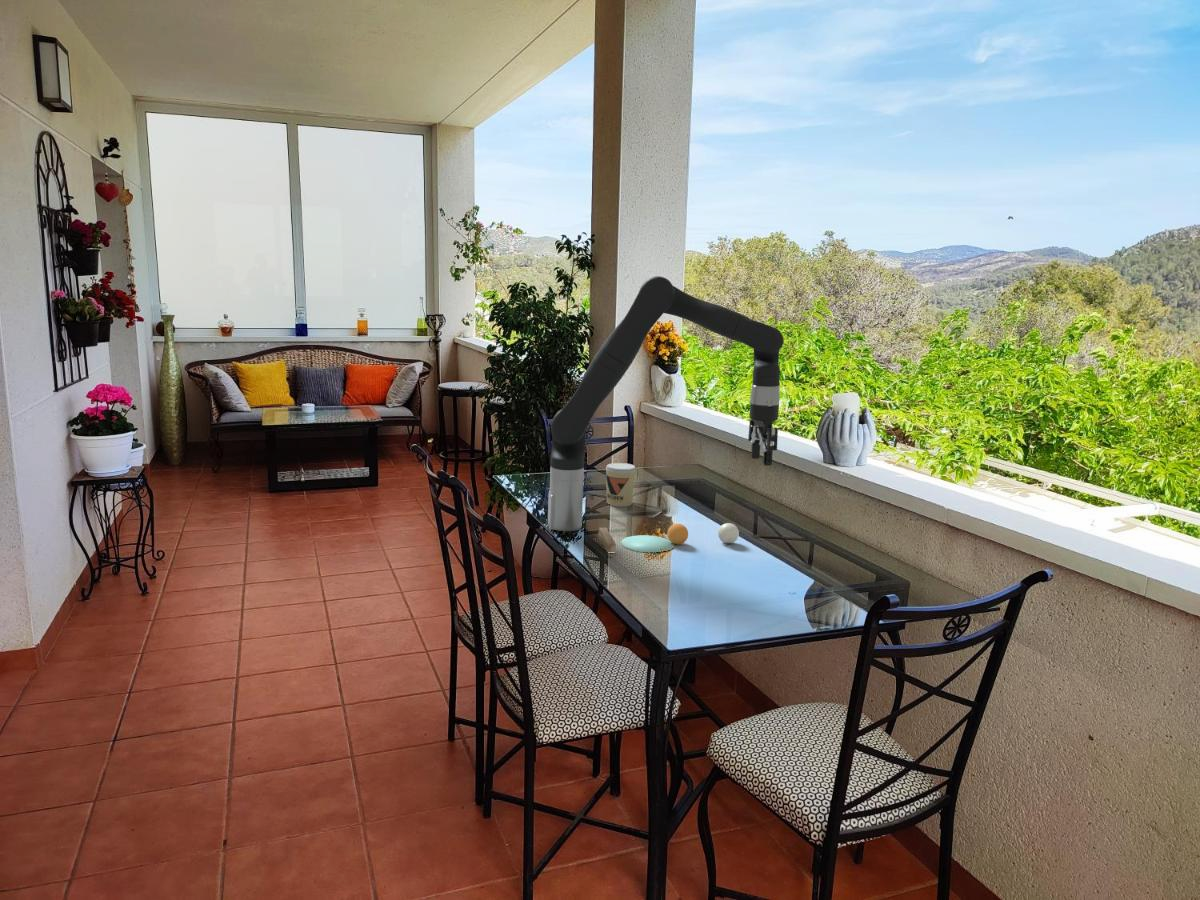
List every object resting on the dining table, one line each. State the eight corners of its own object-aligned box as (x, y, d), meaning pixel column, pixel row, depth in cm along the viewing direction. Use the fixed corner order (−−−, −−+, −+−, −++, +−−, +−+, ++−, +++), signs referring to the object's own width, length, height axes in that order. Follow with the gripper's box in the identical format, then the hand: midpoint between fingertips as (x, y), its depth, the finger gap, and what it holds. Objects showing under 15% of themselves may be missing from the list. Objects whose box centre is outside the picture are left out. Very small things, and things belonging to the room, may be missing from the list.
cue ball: (721, 546, 209) (722, 526, 208) (714, 540, 214) (716, 520, 213) (740, 546, 210) (742, 526, 208) (734, 539, 215) (735, 520, 214)
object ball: (669, 547, 206) (671, 527, 205) (664, 540, 212) (665, 521, 210) (690, 547, 207) (691, 527, 206) (684, 540, 212) (685, 520, 211)
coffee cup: (599, 504, 245) (600, 466, 242) (612, 497, 253) (614, 461, 250) (626, 509, 240) (628, 470, 238) (639, 502, 249) (641, 465, 246)
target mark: (627, 553, 200) (627, 552, 200) (616, 536, 214) (616, 535, 213) (680, 552, 202) (680, 551, 202) (667, 535, 216) (667, 535, 216)
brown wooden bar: (607, 553, 199) (608, 544, 199) (598, 536, 213) (599, 527, 212) (615, 553, 200) (615, 544, 199) (605, 536, 213) (606, 527, 213)
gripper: (741, 398, 216) (738, 456, 219) (761, 406, 202) (758, 468, 205) (767, 398, 217) (764, 456, 220) (789, 405, 203) (785, 467, 207)
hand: (761, 461), depth 213 cm, fingers open, 8 cm apart
